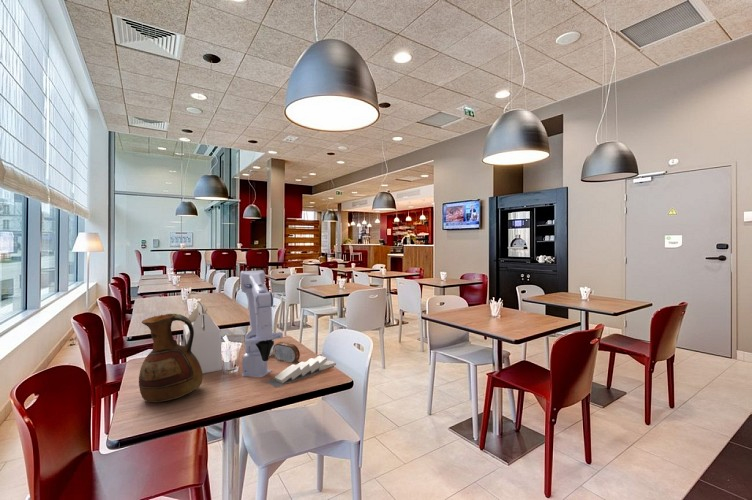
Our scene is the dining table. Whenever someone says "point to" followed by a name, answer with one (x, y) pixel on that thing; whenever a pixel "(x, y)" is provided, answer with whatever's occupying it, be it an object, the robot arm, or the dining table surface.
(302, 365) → the domino
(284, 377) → the domino
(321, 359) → the domino
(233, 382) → the dining table surface
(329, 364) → the domino
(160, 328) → the ceramic pitcher
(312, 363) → the domino
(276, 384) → the mat
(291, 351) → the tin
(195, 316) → the gable box
